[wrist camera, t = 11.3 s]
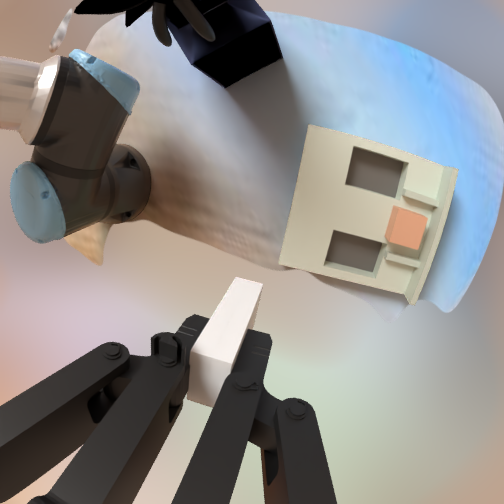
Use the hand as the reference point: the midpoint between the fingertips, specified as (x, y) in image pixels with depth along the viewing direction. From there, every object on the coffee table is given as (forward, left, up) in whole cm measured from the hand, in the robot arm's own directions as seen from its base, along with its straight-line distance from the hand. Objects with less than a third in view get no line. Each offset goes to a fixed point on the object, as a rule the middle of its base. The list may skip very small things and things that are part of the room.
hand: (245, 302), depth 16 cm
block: (+18, +2, -29) cm, 35 cm away
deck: (+12, +2, -32) cm, 35 cm away
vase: (-13, +24, -33) cm, 43 cm away
